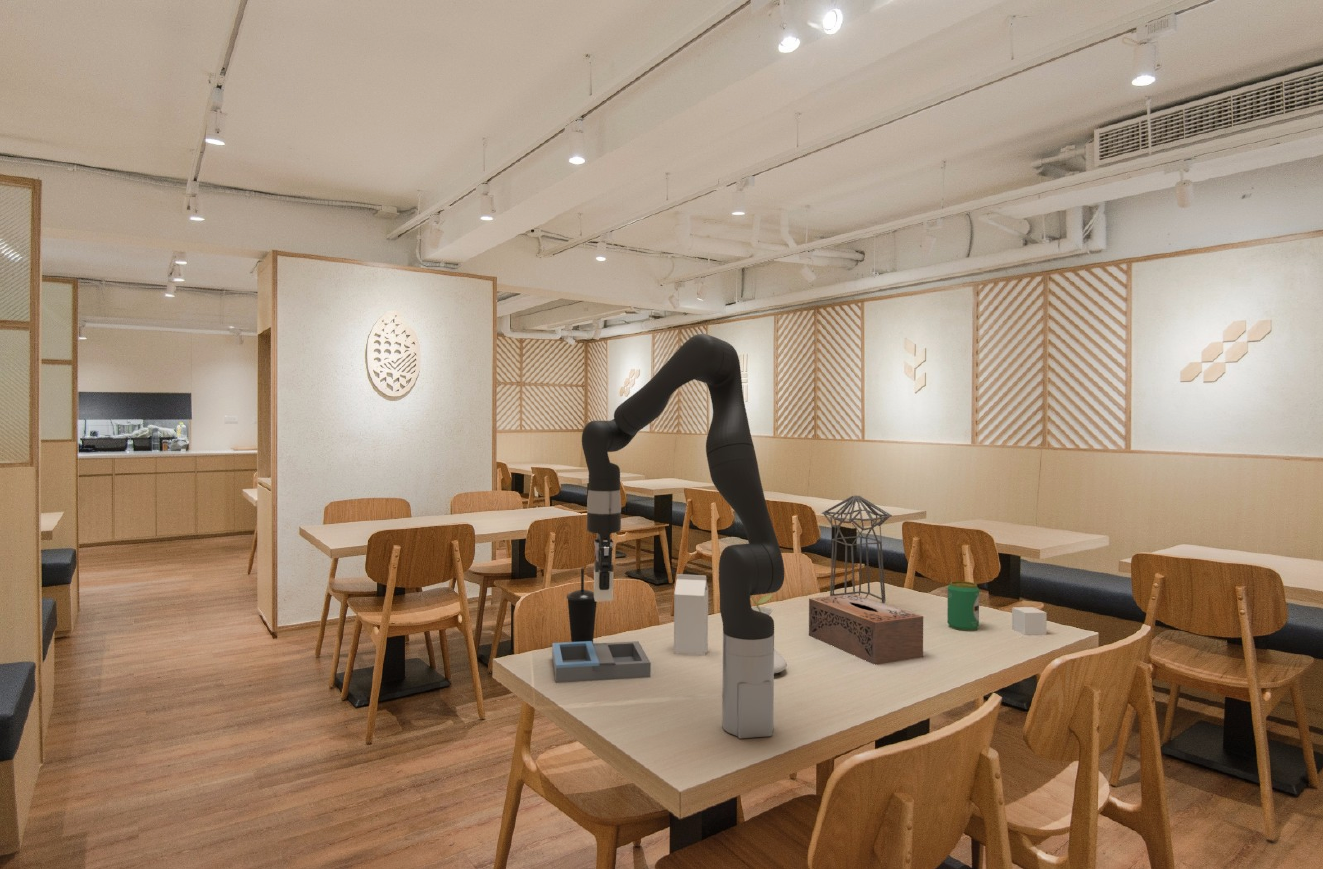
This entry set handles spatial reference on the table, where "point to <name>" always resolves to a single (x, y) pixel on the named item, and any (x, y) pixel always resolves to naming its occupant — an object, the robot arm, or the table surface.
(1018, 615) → the light gray cube
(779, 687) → the table surface
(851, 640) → the tissue box cover
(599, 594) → the gray rectangular block
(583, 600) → the drinking cup
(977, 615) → the beverage can
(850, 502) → the geometric lantern
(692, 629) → the milk carton
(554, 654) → the divided storage tray
